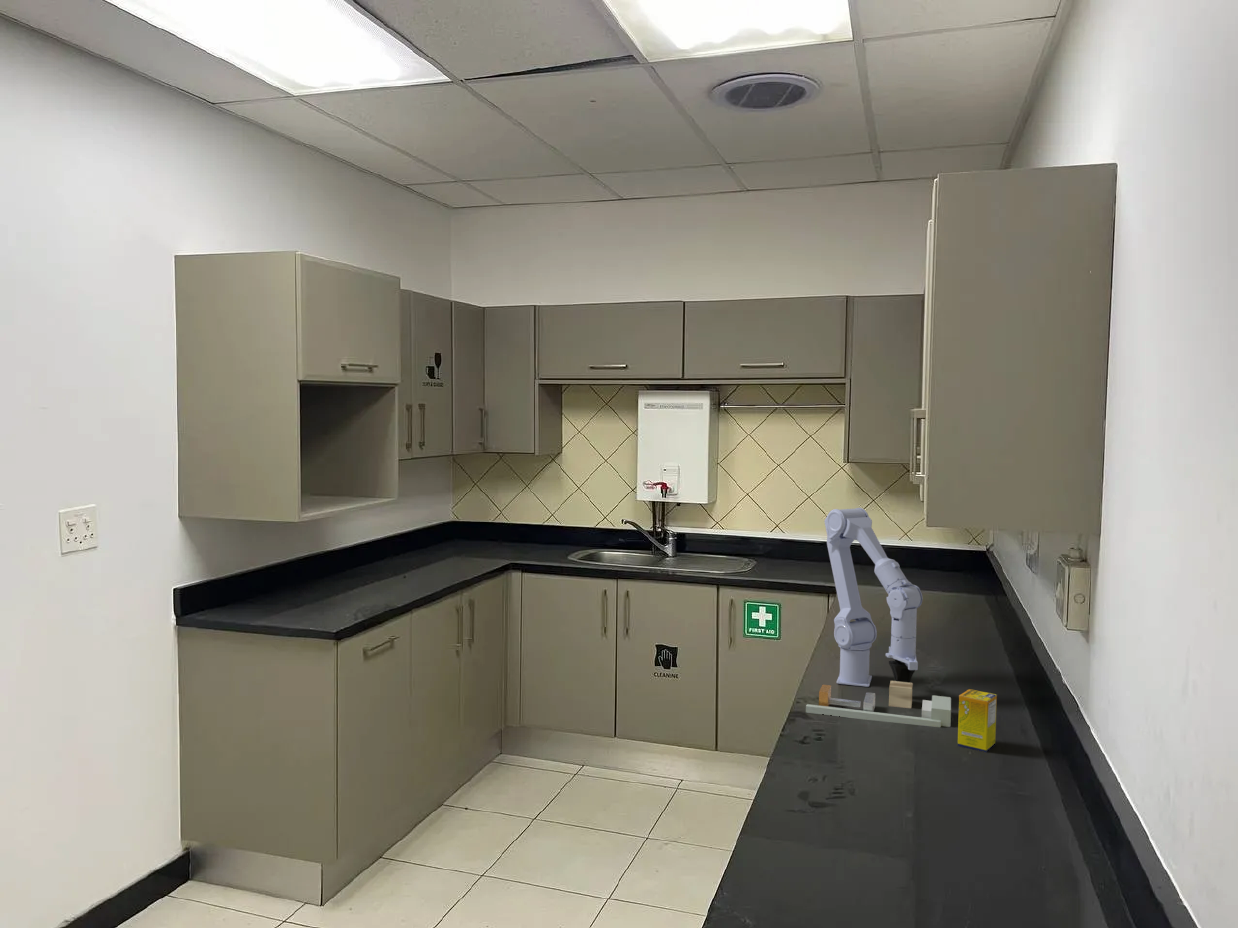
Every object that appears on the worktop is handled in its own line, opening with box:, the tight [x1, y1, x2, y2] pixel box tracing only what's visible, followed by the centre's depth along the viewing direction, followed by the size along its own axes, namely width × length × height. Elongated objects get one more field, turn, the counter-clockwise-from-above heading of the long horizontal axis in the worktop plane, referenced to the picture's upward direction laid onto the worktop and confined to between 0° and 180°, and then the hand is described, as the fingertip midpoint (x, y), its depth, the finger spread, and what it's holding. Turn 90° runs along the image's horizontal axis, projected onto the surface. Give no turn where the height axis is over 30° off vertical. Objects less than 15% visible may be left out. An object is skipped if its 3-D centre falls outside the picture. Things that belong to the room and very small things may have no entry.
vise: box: [805, 695, 952, 728], centre depth 210 cm, size 11×31×4 cm, turn 70°
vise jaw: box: [818, 684, 876, 712], centre depth 213 cm, size 8×12×4 cm, turn 70°
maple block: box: [888, 680, 914, 709], centre depth 216 cm, size 5×5×5 cm
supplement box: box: [957, 688, 998, 753], centre depth 189 cm, size 6×6×11 cm
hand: (901, 691), depth 222 cm, fingers closed
